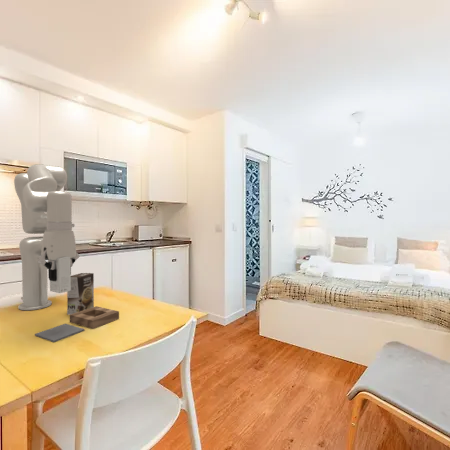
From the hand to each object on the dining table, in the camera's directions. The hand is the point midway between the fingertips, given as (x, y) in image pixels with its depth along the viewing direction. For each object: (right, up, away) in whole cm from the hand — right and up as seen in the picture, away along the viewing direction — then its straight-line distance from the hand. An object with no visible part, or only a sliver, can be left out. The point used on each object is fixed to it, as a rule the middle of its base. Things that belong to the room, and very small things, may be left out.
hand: (60, 278), depth 101 cm
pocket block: (+6, -19, +13) cm, 24 cm away
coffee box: (-4, -19, +23) cm, 30 cm away
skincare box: (0, -5, 0) cm, 5 cm away
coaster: (0, -19, 0) cm, 19 cm away
